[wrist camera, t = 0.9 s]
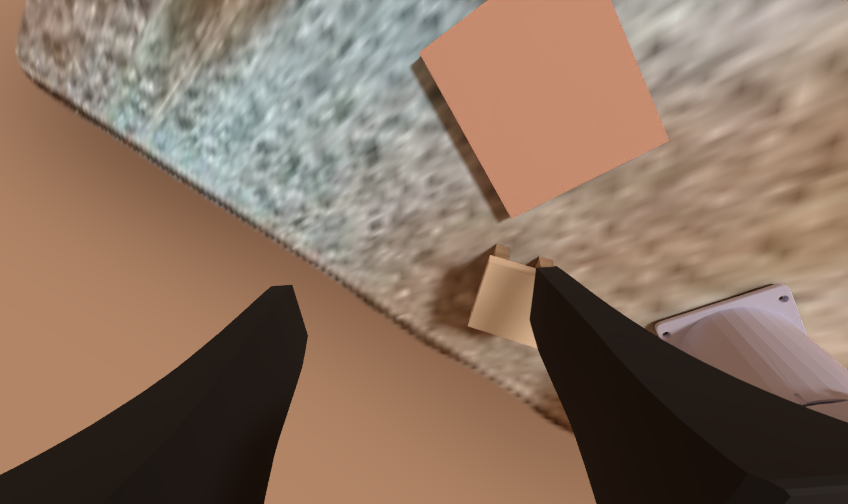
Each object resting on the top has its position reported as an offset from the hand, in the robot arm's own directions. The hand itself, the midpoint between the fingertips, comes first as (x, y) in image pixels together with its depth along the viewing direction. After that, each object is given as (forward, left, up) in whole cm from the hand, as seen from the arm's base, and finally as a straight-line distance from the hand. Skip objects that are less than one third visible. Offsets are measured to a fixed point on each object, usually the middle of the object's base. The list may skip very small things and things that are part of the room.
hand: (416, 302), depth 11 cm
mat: (+3, -6, -16) cm, 18 cm away
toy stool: (-8, +1, -16) cm, 18 cm away
